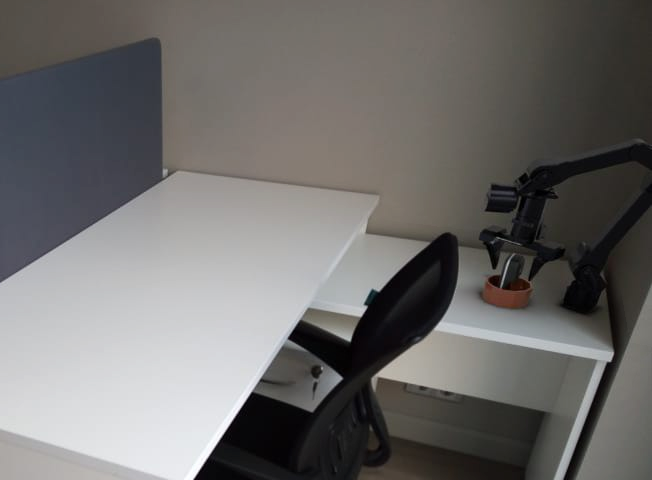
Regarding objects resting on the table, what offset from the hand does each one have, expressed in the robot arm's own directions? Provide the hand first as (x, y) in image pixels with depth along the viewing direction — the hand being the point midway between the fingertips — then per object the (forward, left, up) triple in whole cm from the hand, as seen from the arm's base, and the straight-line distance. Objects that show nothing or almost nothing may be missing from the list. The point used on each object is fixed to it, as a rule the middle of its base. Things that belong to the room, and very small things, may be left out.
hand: (511, 274), depth 182 cm
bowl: (0, 0, -7) cm, 7 cm away
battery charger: (0, 0, -7) cm, 7 cm away
